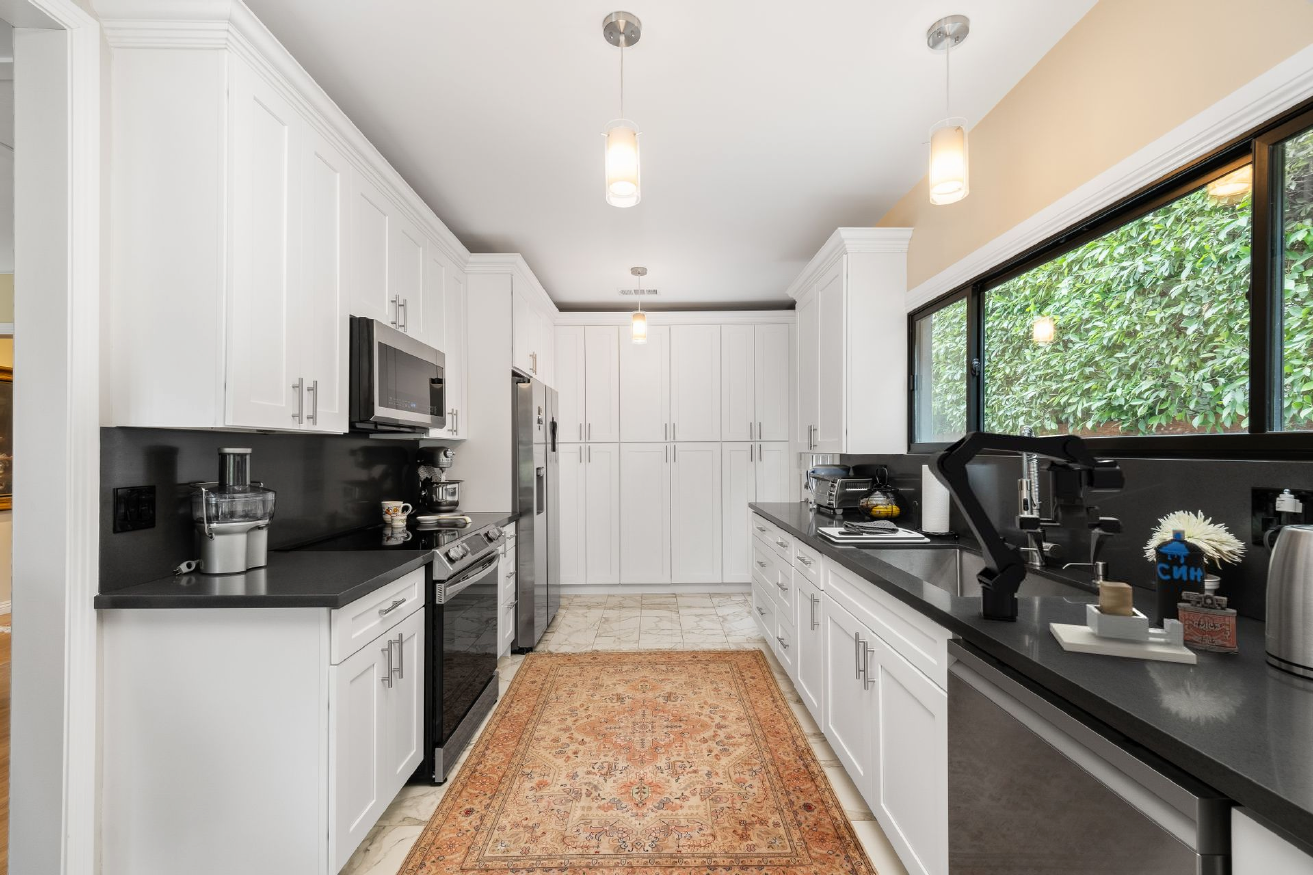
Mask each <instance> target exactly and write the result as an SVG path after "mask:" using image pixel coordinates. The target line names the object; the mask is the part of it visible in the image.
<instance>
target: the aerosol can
mask: <svg viewBox="0 0 1313 875" xmlns="http://www.w3.org/2000/svg"><path fill="white" fill-rule="evenodd" d="M1171 531H1172V533H1171V534H1172V538H1171V539H1170V540H1169V539H1167V540H1164V541H1161V542H1160V543H1158V544H1157V545H1156V546H1154V547H1153V551H1154V552H1155V553H1154V555H1155V556H1154V558H1155V579H1156V580H1155V589H1156V590H1155V591H1156V620H1155V623H1156V624H1157V625H1159V626H1160V627H1161V626H1162V627H1164V619H1176V620H1178V621H1179V608H1178V603H1188V604H1191V601H1192V600H1189V599H1183V598H1182V593H1183V592H1192V593H1199V594H1200V595H1204V594H1205V593H1206V580H1205V579H1206V573H1205V568H1206V567H1205V555H1206V553H1207V552H1206V551H1205V550H1203V548H1201V547H1200V545H1198V544H1196V543H1194V542H1190V541H1188V540H1187V539H1186V530H1185V529H1180V528H1173V529H1172V530H1171ZM1196 601H1197V600H1196ZM1201 602H1202V601H1197V604H1198V605H1200V603H1201Z"/></svg>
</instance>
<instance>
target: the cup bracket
mask: <svg viewBox="0 0 1313 875" xmlns="http://www.w3.org/2000/svg"><path fill="white" fill-rule="evenodd" d="M1132 608H1133V616H1125V615H1113V614H1101V613H1100V604H1098V605H1097V604H1086V626H1088V627H1090V628H1091V629H1092V630H1093V631H1094V633H1095V634H1096V635H1097V636H1103V637H1114V638H1124V639H1135V640H1145V641H1149V638H1159V639H1164V640H1165V641H1166V642H1167V643H1169V644H1170V645H1175V646H1184V645H1183V624H1182V623H1181V622H1179V621H1178V620H1176V619H1164V626H1163V629H1162V628H1151V627H1149V621H1150V620H1149V617H1147V616H1146V615H1144V614H1143V613H1141V611H1139V610H1137V608H1135V607H1132Z"/></svg>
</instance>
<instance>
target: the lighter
mask: <svg viewBox="0 0 1313 875" xmlns="http://www.w3.org/2000/svg"><path fill="white" fill-rule="evenodd" d="M1182 598H1183V599H1189V600H1192V601H1191V604H1188V603H1178V608H1179V622H1181V623H1182V624H1183V646H1184V647H1189V648H1194V649H1199V650H1200V649H1201V650H1205V649H1207V650H1206V651H1211V652H1212V651H1213V652H1220V653H1225V652H1230V653H1229V654H1235V653H1234V652H1239V650H1238V647H1237V636H1236V635H1237V633H1236V632H1237V631H1236V629H1237V628H1236V616H1237V610H1236V609H1232V608H1227V604H1228V598H1227V597H1226V596H1225V597H1223V596H1217V595H1215V596H1214V594H1212V593H1209V592H1205V594H1204V595H1200V594H1199V593H1192V592H1183V593H1182ZM1196 600H1197V601H1202V602H1201V603H1200V605H1198V604H1197V601H1196ZM1218 604H1219V605H1218ZM1231 652H1232V653H1231Z"/></svg>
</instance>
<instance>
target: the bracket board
mask: <svg viewBox="0 0 1313 875" xmlns="http://www.w3.org/2000/svg"><path fill="white" fill-rule="evenodd" d="M1049 630H1050V632H1051V634H1052V635H1053V636H1054V637H1055V639H1056V640H1057V641H1058V643H1059V644H1060V646H1061V648H1063V650H1064V651H1067V652H1069V651H1070V652H1077V653H1088V654H1099V655H1105V656H1106V655H1108V656H1114V657H1115V656H1116V657H1125V658H1132V659H1133V658H1134V659H1143V660H1144V659H1145V660H1154V661H1164V662H1171V663H1172V662H1173V663H1174V662H1175V663H1181V664H1182V663H1183V664H1193V665H1197V654H1195V653H1193V652H1192V651H1191V650H1190V649H1188V648H1187V646H1184V645H1183V646H1175V645H1170V644H1169V643H1167V642H1166V641H1165V640H1164V639H1159V638H1149V641H1145V640H1135V639H1124V638H1114V637H1103V636H1097V635H1096V634H1095V633H1094V631H1093V630H1092V629H1091V628H1090V627H1089V626H1088V625H1077V624H1076V625H1074V624H1064V623H1054V622H1049Z"/></svg>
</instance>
